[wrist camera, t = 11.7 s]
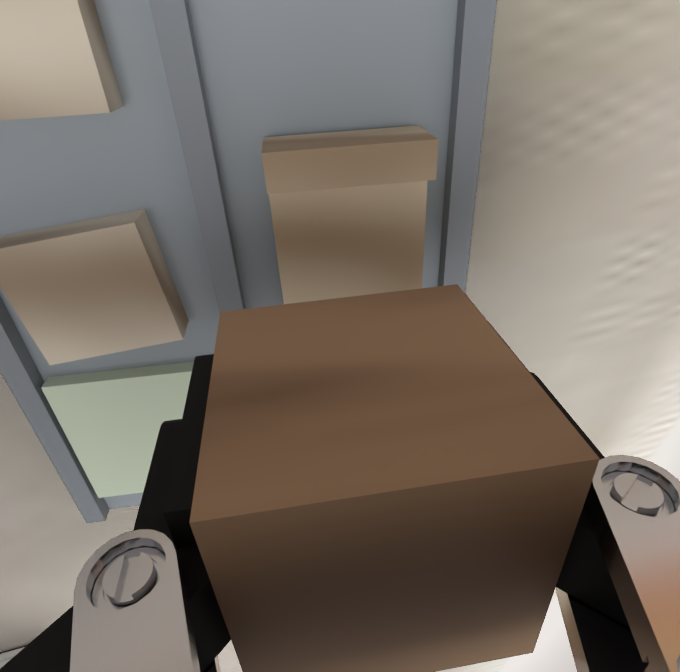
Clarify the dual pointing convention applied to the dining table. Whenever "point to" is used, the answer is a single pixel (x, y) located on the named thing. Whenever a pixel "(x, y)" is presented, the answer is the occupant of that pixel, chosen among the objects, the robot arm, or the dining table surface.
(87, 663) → the robot arm
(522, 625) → the walnut block
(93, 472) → the felt coaster
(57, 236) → the broken strip
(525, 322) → the dining table surface
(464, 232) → the slate board
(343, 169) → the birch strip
